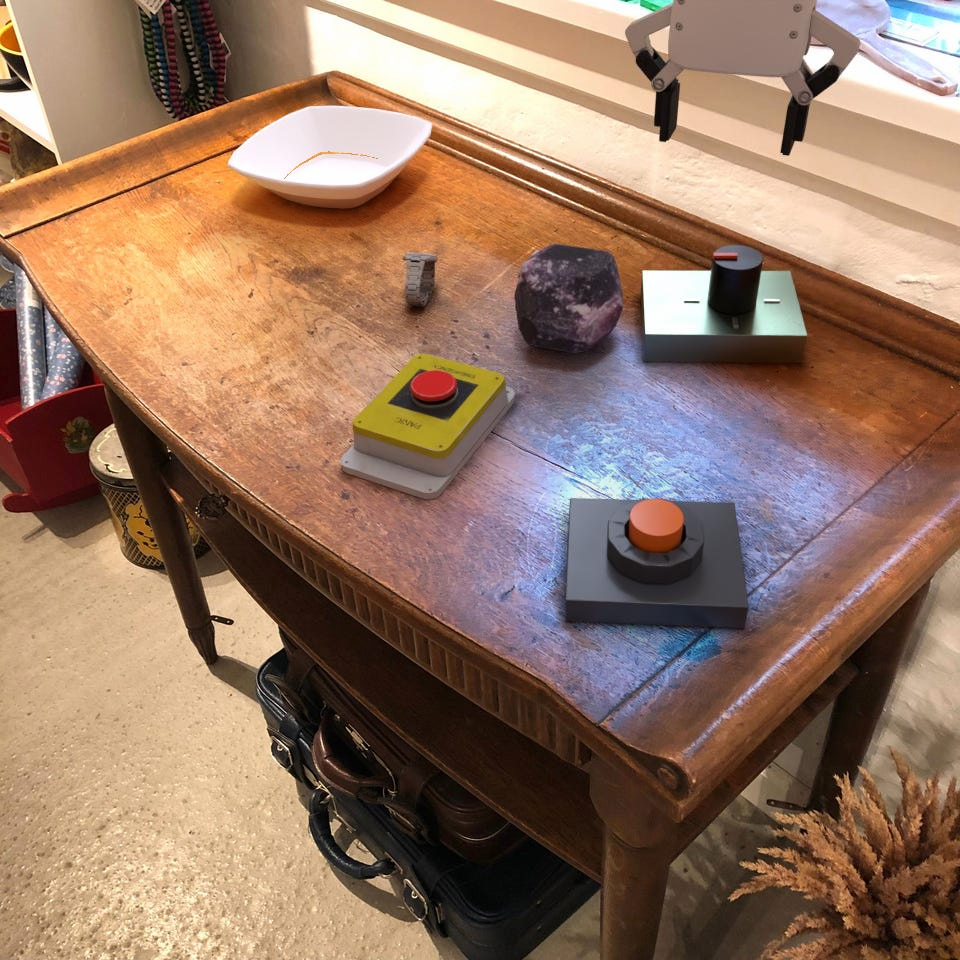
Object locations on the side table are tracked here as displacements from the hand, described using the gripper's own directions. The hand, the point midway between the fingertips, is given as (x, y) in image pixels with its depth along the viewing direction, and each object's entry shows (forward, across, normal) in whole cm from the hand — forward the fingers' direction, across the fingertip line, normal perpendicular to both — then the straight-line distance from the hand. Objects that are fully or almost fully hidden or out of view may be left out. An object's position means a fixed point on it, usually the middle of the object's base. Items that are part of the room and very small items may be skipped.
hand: (726, 141), depth 78 cm
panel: (+18, -1, -1) cm, 19 cm away
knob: (+15, -2, -2) cm, 16 cm away
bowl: (+19, +49, -19) cm, 56 cm away
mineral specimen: (+19, +12, +5) cm, 23 cm away
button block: (+18, -3, +30) cm, 36 cm away
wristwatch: (+19, +28, +2) cm, 34 cm away
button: (+15, -3, +30) cm, 34 cm away
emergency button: (+19, +18, +21) cm, 34 cm away
